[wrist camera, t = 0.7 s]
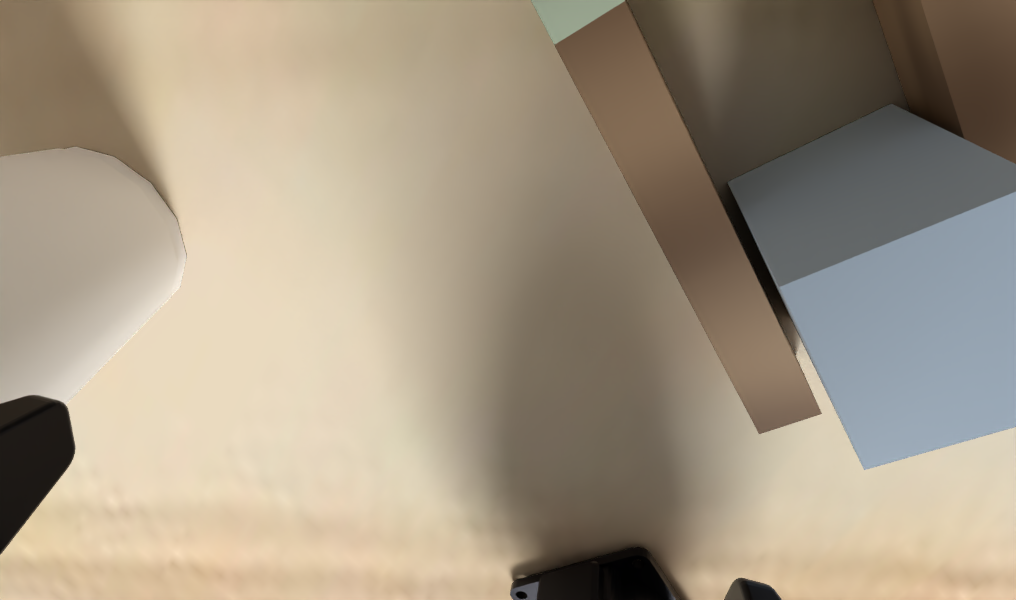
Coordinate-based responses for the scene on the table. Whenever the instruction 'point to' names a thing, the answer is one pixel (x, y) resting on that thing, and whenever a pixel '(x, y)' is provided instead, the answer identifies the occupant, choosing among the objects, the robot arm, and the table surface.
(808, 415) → the u-shaped frame
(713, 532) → the table surface
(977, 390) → the block
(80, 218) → the foam cup
